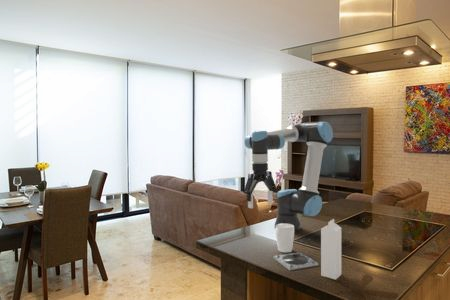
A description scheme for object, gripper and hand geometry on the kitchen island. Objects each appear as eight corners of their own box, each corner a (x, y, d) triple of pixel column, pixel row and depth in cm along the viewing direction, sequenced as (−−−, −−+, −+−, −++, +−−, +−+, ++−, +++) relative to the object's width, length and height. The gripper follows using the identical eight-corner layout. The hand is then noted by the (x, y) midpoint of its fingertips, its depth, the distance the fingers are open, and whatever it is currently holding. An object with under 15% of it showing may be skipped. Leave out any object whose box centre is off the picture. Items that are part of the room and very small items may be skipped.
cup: (280, 254, 150) (280, 229, 150) (272, 248, 159) (272, 224, 159) (298, 252, 153) (297, 227, 152) (289, 246, 162) (289, 222, 161)
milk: (341, 274, 128) (342, 220, 127) (335, 280, 123) (336, 223, 122) (326, 270, 132) (327, 217, 131) (320, 275, 127) (320, 220, 126)
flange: (300, 254, 151) (300, 250, 151) (318, 265, 137) (318, 261, 137) (273, 258, 146) (273, 255, 146) (289, 270, 133) (289, 266, 133)
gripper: (271, 160, 168) (272, 200, 169) (235, 164, 152) (236, 208, 153) (282, 161, 162) (283, 203, 163) (246, 165, 146) (247, 211, 147)
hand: (260, 205), depth 158 cm, fingers open, 13 cm apart
